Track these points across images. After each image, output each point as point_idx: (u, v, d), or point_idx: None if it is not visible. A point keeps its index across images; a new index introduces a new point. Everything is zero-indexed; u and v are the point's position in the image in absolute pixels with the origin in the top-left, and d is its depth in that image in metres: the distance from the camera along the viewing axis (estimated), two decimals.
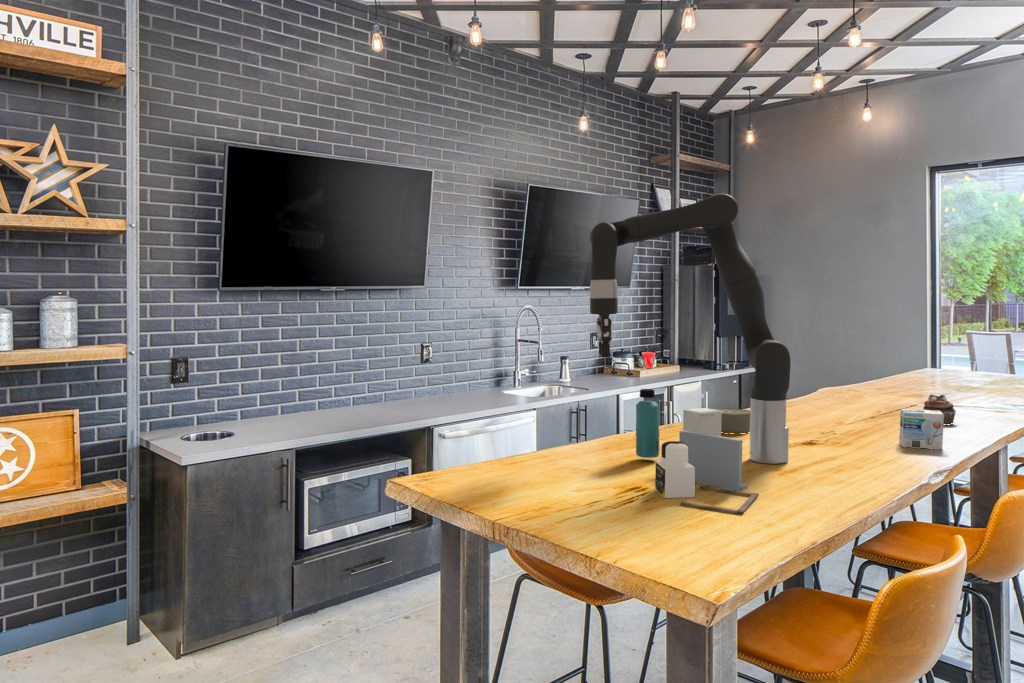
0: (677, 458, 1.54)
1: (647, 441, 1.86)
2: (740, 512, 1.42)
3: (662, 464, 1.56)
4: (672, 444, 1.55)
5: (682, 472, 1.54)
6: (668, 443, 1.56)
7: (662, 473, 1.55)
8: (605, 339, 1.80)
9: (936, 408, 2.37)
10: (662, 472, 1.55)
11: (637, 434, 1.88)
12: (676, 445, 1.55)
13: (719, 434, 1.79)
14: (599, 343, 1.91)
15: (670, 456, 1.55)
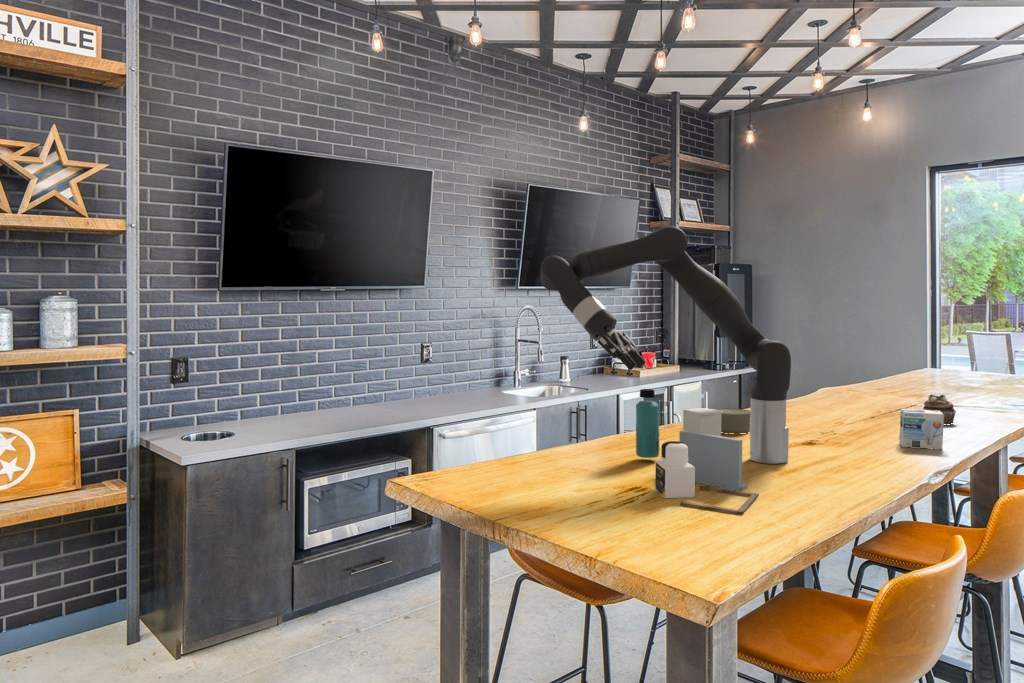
0: (677, 458, 1.54)
1: (647, 441, 1.86)
2: (740, 512, 1.42)
3: (662, 464, 1.56)
4: (672, 444, 1.55)
5: (682, 472, 1.54)
6: (668, 443, 1.56)
7: (662, 473, 1.55)
8: (615, 354, 1.66)
9: (936, 408, 2.37)
10: (662, 472, 1.55)
11: (637, 434, 1.88)
12: (676, 445, 1.55)
13: (719, 434, 1.79)
14: None
15: (670, 456, 1.55)
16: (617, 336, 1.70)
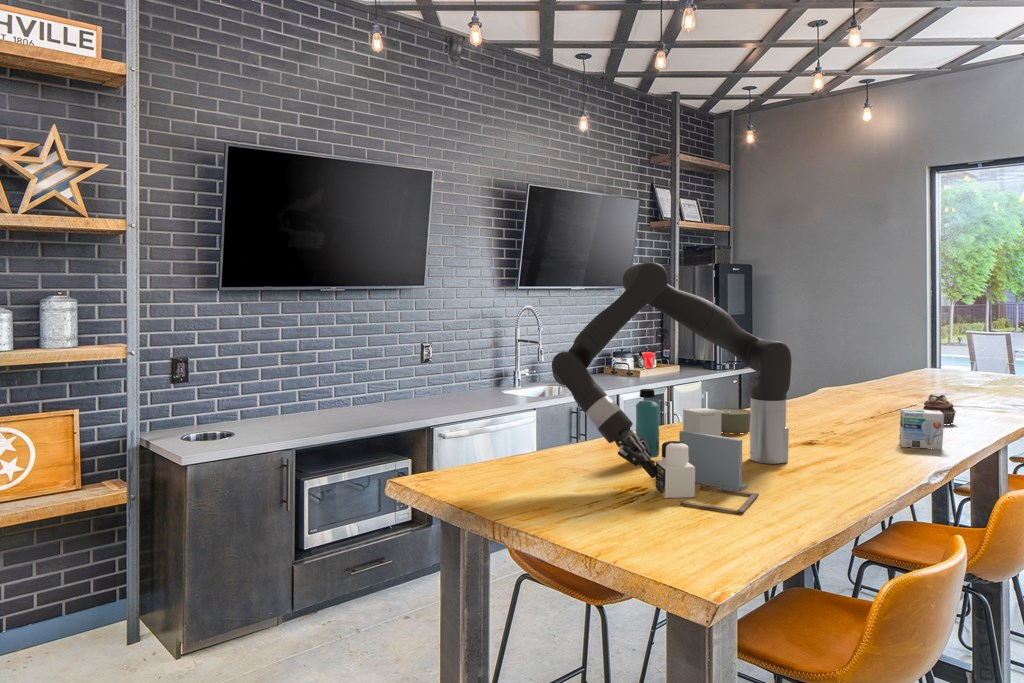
0: (677, 457, 1.54)
1: (647, 441, 1.86)
2: (740, 512, 1.42)
3: (662, 464, 1.56)
4: (672, 444, 1.55)
5: (683, 472, 1.54)
6: (668, 443, 1.56)
7: (662, 473, 1.55)
8: (637, 462, 1.59)
9: (936, 408, 2.37)
10: (662, 472, 1.55)
11: (637, 434, 1.88)
12: (676, 445, 1.55)
13: (719, 434, 1.79)
14: None
15: (670, 456, 1.55)
16: (634, 441, 1.61)
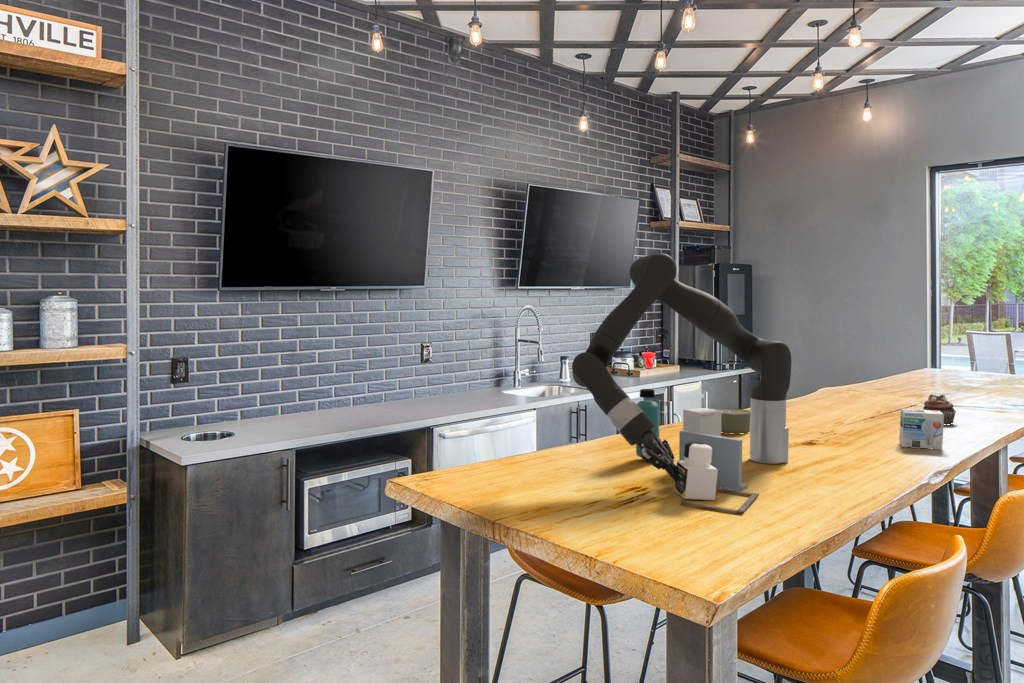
0: (700, 458, 1.52)
1: None
2: (740, 512, 1.42)
3: (684, 464, 1.54)
4: (696, 444, 1.53)
5: (705, 474, 1.51)
6: (692, 443, 1.54)
7: (684, 473, 1.53)
8: (660, 465, 1.56)
9: (936, 408, 2.37)
10: (684, 472, 1.52)
11: None
12: (700, 446, 1.52)
13: (719, 434, 1.79)
14: None
15: (694, 456, 1.52)
16: (657, 444, 1.58)
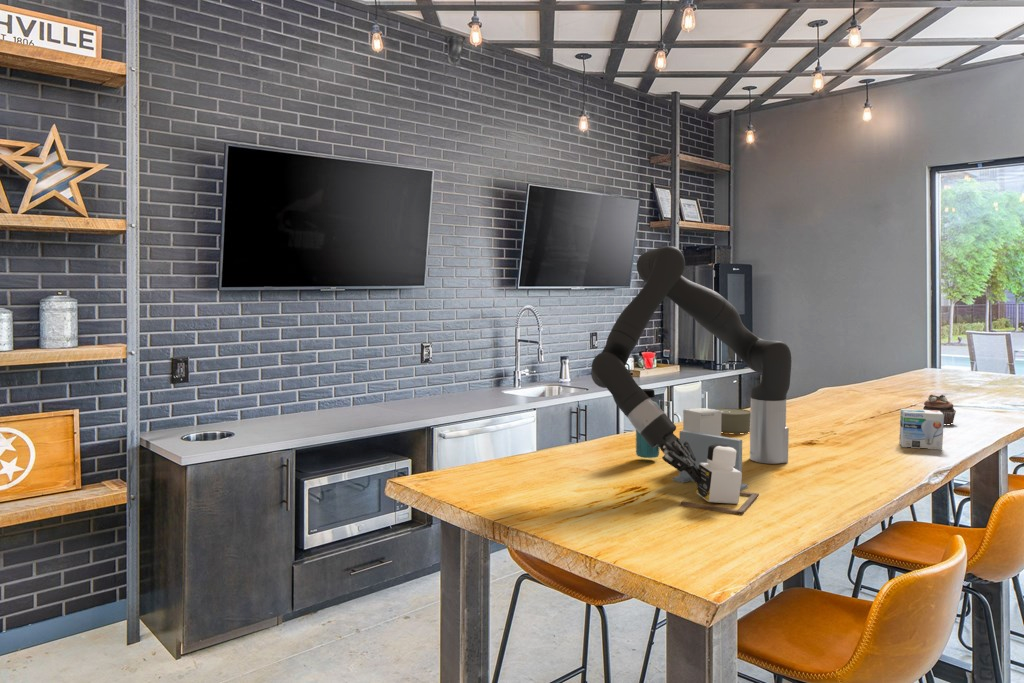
0: (725, 461, 1.49)
1: None
2: (740, 512, 1.42)
3: (708, 466, 1.51)
4: (720, 447, 1.50)
5: (729, 477, 1.49)
6: (716, 445, 1.51)
7: (707, 476, 1.50)
8: (682, 468, 1.53)
9: (936, 408, 2.37)
10: (708, 474, 1.50)
11: (637, 434, 1.88)
12: (725, 448, 1.50)
13: (719, 434, 1.79)
14: None
15: (718, 459, 1.49)
16: (679, 446, 1.55)
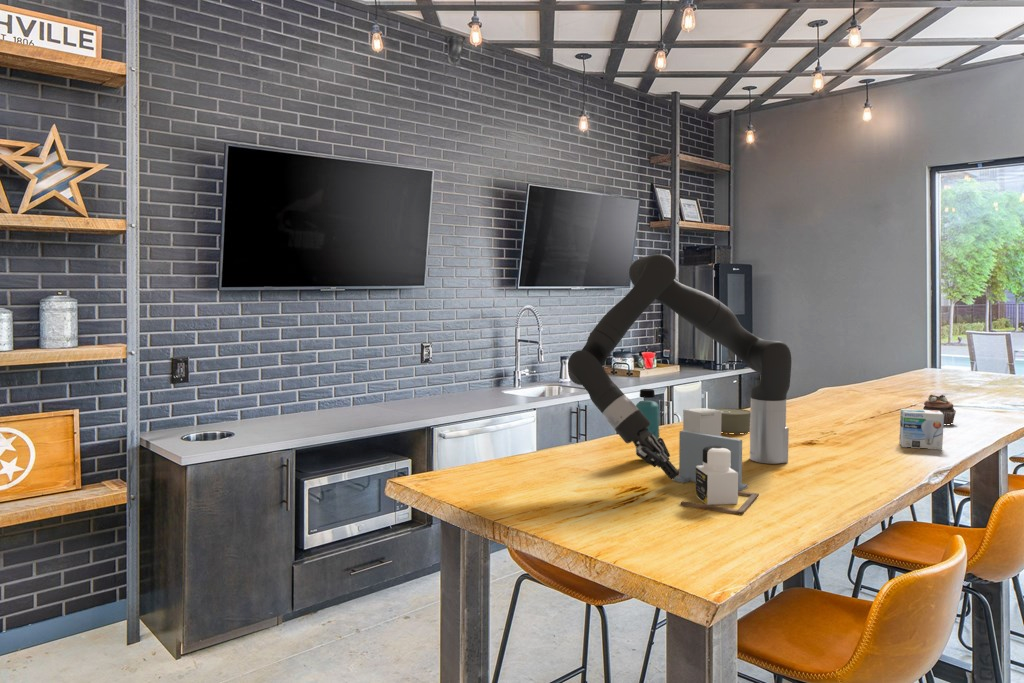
0: (719, 463, 1.49)
1: None
2: (740, 512, 1.42)
3: (704, 469, 1.51)
4: (714, 449, 1.50)
5: (725, 478, 1.49)
6: (710, 448, 1.51)
7: (704, 479, 1.50)
8: (655, 463, 1.56)
9: (936, 408, 2.37)
10: (704, 478, 1.50)
11: None
12: (718, 450, 1.50)
13: (719, 434, 1.79)
14: None
15: (712, 461, 1.49)
16: (653, 442, 1.58)
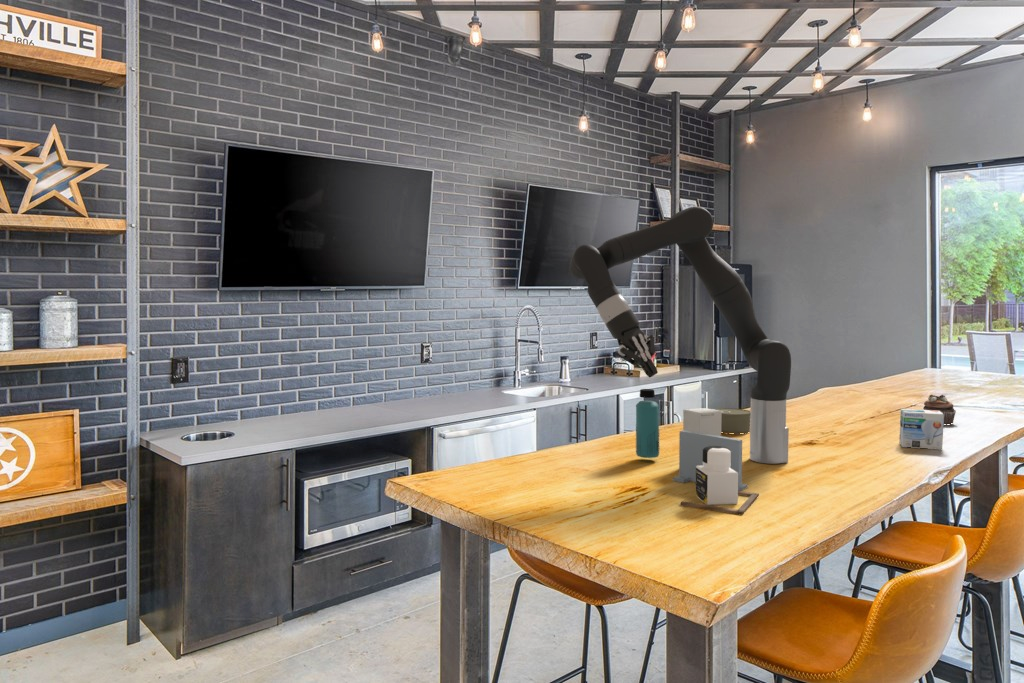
0: (719, 463, 1.49)
1: (647, 441, 1.86)
2: (740, 512, 1.42)
3: (704, 469, 1.51)
4: (714, 449, 1.50)
5: (725, 478, 1.49)
6: (710, 448, 1.51)
7: (704, 479, 1.50)
8: (634, 362, 1.68)
9: (936, 408, 2.37)
10: (704, 478, 1.50)
11: (637, 434, 1.88)
12: (718, 450, 1.50)
13: (719, 434, 1.79)
14: None
15: (712, 461, 1.49)
16: (636, 342, 1.69)
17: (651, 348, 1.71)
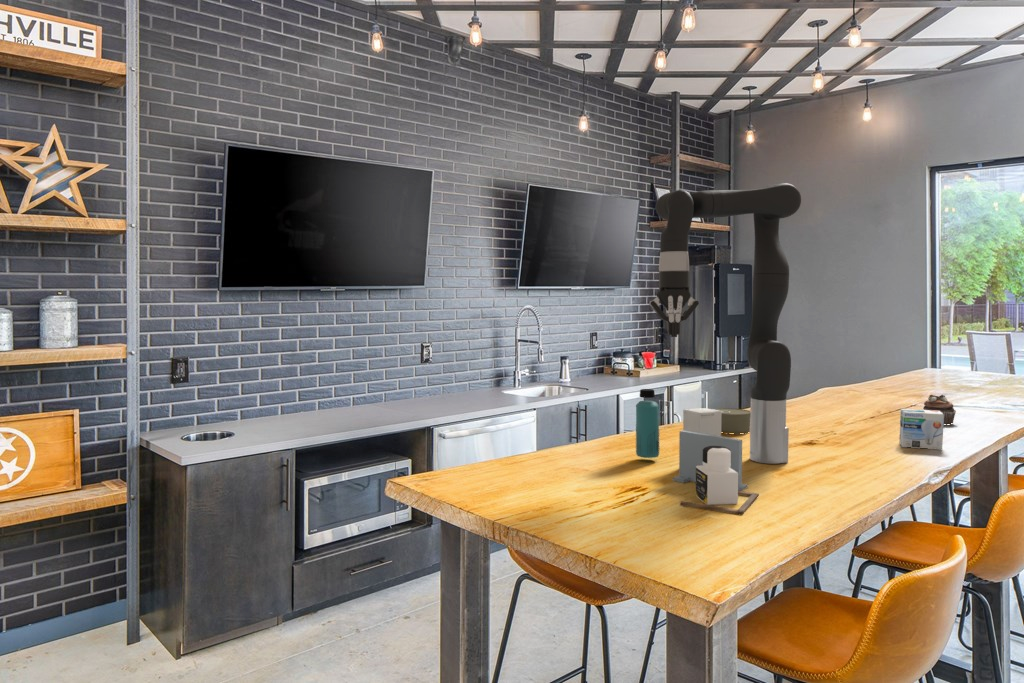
0: (719, 463, 1.49)
1: (647, 441, 1.86)
2: (740, 512, 1.42)
3: (704, 469, 1.51)
4: (714, 449, 1.50)
5: (725, 478, 1.49)
6: (710, 448, 1.51)
7: (704, 479, 1.50)
8: (661, 318, 1.77)
9: (936, 408, 2.37)
10: (704, 478, 1.50)
11: (637, 434, 1.88)
12: (718, 450, 1.50)
13: (719, 434, 1.79)
14: None
15: (712, 461, 1.49)
16: (670, 302, 1.75)
17: (686, 313, 1.76)
